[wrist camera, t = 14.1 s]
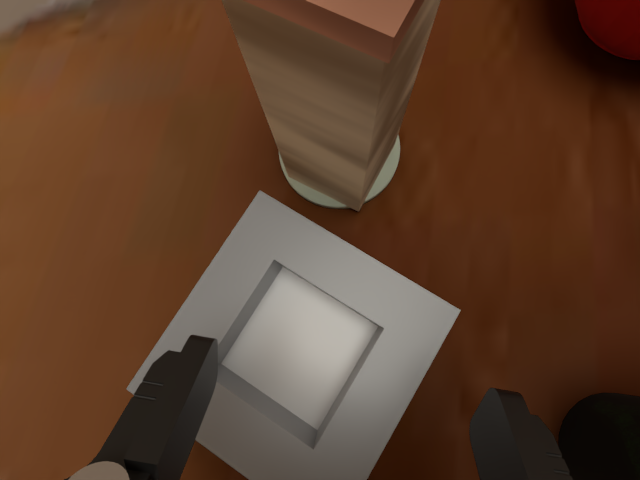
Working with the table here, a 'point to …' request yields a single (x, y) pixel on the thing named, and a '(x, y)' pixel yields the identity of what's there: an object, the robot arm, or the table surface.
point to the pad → (328, 202)
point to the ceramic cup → (612, 25)
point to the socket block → (305, 348)
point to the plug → (333, 82)
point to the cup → (602, 438)
